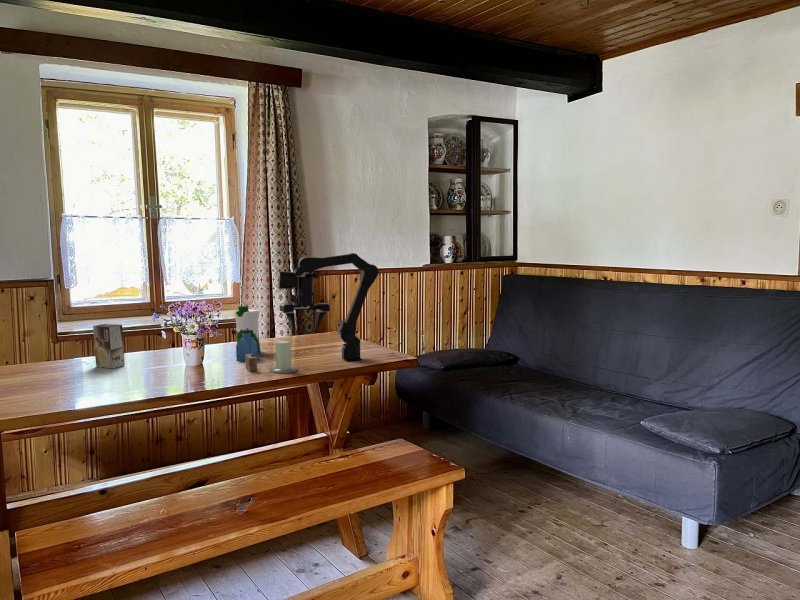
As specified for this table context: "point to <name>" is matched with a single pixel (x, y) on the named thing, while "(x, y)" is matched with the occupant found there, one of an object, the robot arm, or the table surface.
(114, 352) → the coffee box
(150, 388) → the table surface
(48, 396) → the table surface
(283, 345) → the sage peg
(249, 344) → the perfume bottle
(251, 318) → the milk carton
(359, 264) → the robot arm
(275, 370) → the stoneware coaster
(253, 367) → the walnut U-bracket
